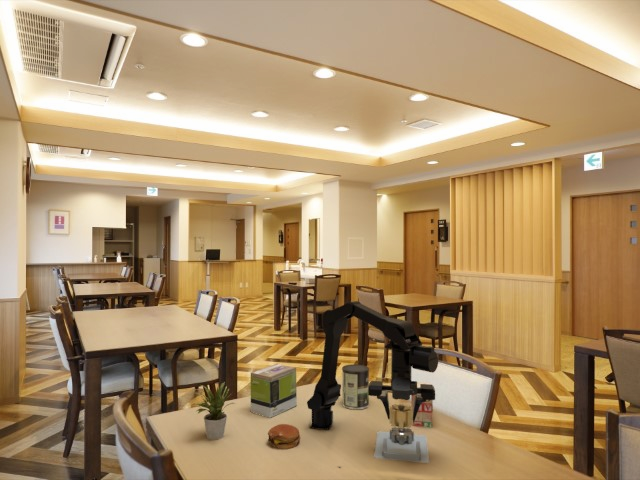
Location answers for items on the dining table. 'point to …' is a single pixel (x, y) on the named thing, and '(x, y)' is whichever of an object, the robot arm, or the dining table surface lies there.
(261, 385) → the tea box
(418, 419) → the stack of blocks
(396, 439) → the gear
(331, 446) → the dining table surface
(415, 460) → the gear board
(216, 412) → the house plant
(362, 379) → the coffee can
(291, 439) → the burger
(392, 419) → the brass gear
